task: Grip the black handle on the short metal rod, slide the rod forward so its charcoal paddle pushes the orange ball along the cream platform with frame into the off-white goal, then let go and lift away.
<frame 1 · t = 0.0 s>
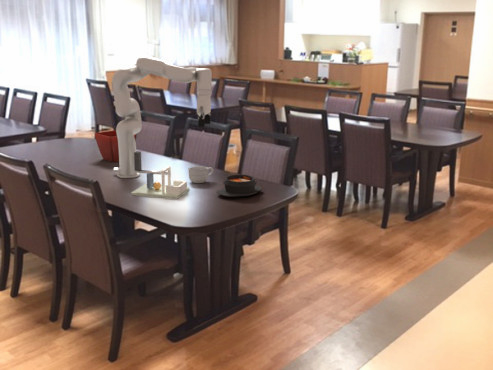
hand: (204, 125, 300), 31 cm above the table, tool pointing down, fingers open, 9 cm apart
ball: (157, 185, 288), point 3 cm above the table, touching cream platform with frame
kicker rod: (152, 170, 286), point 11 cm above the table, slide at 0.0 cm
cream platform with frame: (161, 192, 288), on the table
casserole: (239, 194, 287), on the table
teacup: (201, 182, 309), on the table
plant pot: (116, 159, 357), on the table
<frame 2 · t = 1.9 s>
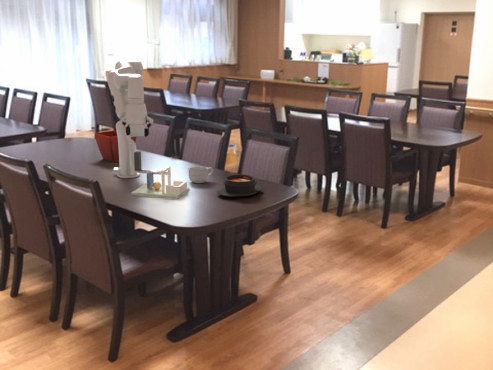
hand: (137, 135, 284), 28 cm above the table, tool pointing down, fingers open, 9 cm apart
nothing on the table moved.
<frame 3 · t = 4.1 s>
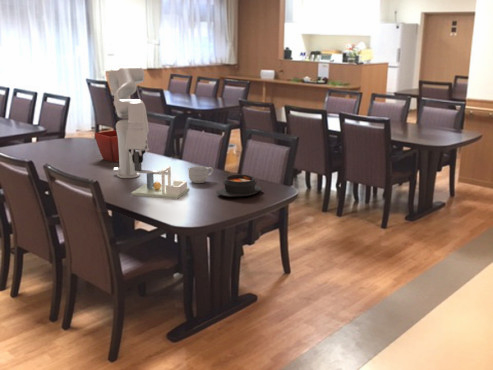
hand: (137, 162, 287), 15 cm above the table, tool pointing down, fingers closed on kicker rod, 2 cm apart
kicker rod: (152, 170, 286), point 11 cm above the table, slide at 0.0 cm, touching gripper
everything else where it was.
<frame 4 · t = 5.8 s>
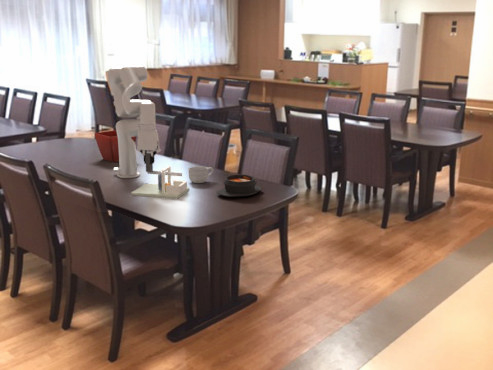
hand: (149, 163, 286), 15 cm above the table, tool pointing down, fingers closed on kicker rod, 2 cm apart
ball: (167, 186, 286), point 3 cm above the table, tilted 164°, touching cream platform with frame
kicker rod: (164, 171, 285), point 11 cm above the table, slide at 6.2 cm, touching gripper
everything else where it was.
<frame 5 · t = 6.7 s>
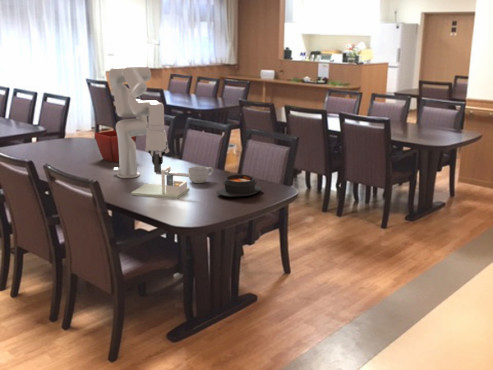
hand: (157, 163, 285), 15 cm above the table, tool pointing down, fingers closed on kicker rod, 2 cm apart
ball: (177, 187, 285), point 3 cm above the table, tilted 48°, touching cream platform with frame
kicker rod: (172, 172, 284), point 11 cm above the table, slide at 10.7 cm, touching gripper
everything else where it was.
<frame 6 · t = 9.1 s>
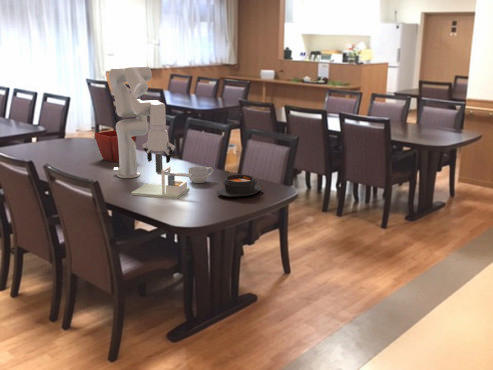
hand: (158, 161, 284), 16 cm above the table, tool pointing down, fingers open, 9 cm apart
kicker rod: (174, 172, 284), point 11 cm above the table, slide at 11.5 cm
everything else where it was.
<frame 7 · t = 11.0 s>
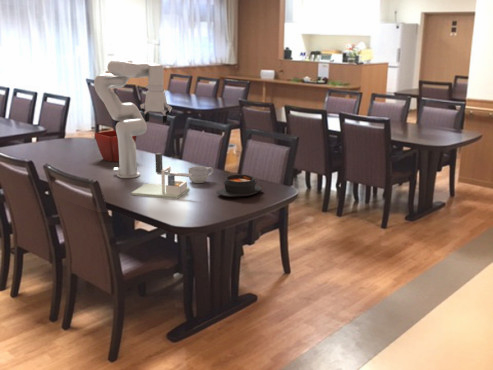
hand: (156, 122, 293), 33 cm above the table, tool pointing down, fingers open, 9 cm apart
ball: (177, 187, 285), point 3 cm above the table, tilted 47°, touching cream platform with frame
everything else where it was.
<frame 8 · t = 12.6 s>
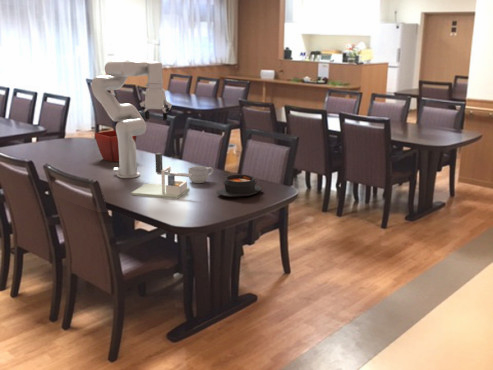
hand: (156, 119, 295), 34 cm above the table, tool pointing down, fingers open, 9 cm apart
nothing on the table moved.
at the end: ball inside the target area on the cream platform with frame (1.2 cm from its centre), point 3.2 cm above the cream platform with frame's base; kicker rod slide at 11.5 cm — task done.
